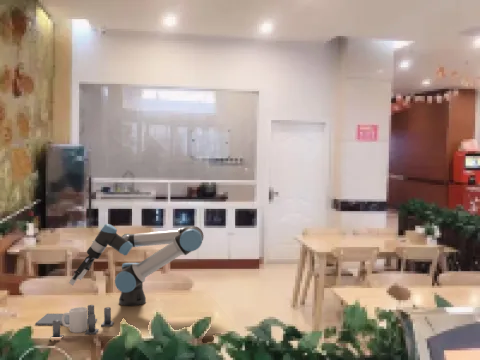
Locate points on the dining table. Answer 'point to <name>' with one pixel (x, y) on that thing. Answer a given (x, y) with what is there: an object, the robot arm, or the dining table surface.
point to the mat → (50, 318)
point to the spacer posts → (88, 322)
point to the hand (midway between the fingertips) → (74, 281)
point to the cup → (76, 319)
